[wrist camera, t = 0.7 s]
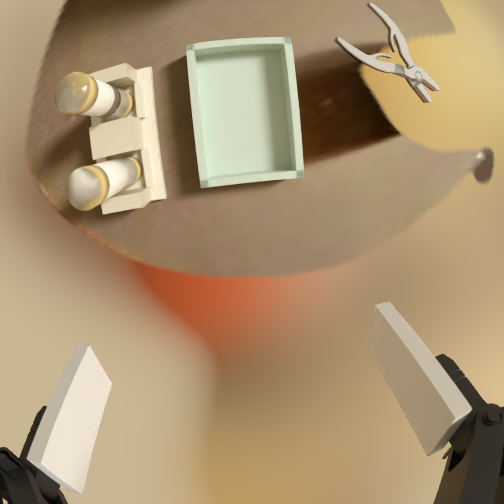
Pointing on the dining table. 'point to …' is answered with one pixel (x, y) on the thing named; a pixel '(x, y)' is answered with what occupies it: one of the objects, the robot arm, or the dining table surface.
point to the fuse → (101, 181)
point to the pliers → (410, 72)
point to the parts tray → (245, 110)
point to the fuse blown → (92, 97)
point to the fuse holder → (130, 138)
